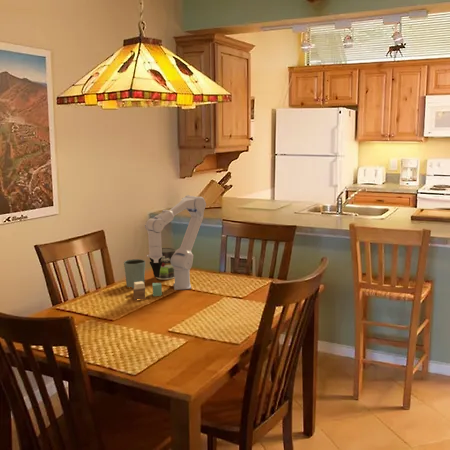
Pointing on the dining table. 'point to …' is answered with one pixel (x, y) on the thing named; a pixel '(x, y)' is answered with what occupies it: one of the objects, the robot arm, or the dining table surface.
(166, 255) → the coffee can
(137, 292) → the walnut block
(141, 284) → the cream block
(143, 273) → the teal cup
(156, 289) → the teal block
